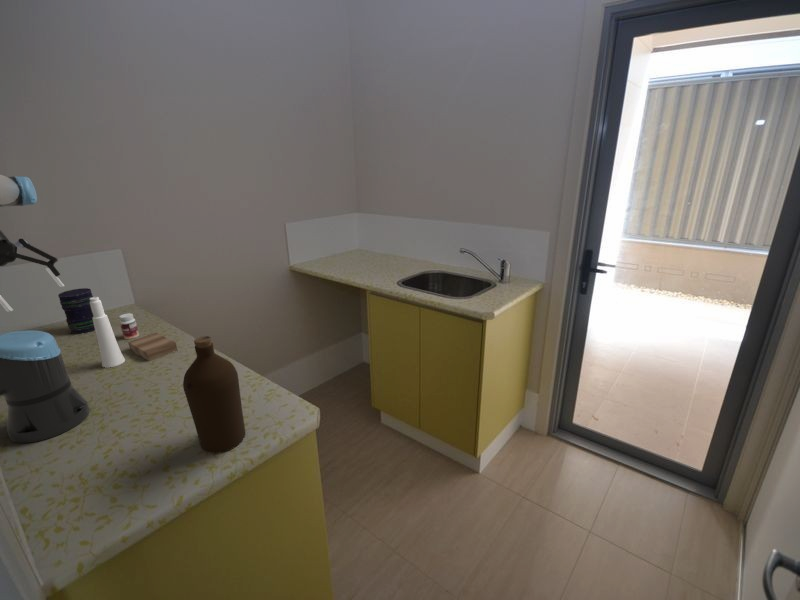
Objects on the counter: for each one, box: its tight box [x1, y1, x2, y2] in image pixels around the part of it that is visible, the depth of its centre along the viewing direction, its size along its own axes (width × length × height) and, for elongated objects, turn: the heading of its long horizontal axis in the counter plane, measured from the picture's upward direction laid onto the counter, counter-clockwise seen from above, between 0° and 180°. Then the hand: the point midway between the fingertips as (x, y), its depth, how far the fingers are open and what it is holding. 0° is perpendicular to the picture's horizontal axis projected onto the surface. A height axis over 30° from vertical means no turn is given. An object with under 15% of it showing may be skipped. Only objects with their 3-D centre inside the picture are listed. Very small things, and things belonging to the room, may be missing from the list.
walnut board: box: [127, 332, 178, 362], centre depth 132 cm, size 14×9×3 cm, turn 54°
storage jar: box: [57, 287, 95, 335], centre depth 149 cm, size 10×10×15 cm
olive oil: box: [182, 335, 246, 454], centre depth 85 cm, size 11×11×25 cm
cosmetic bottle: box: [90, 296, 126, 369], centre depth 121 cm, size 6×6×22 cm
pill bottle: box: [118, 312, 140, 340], centre depth 142 cm, size 5×5×8 cm
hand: (37, 298), depth 116 cm, fingers open, 13 cm apart
